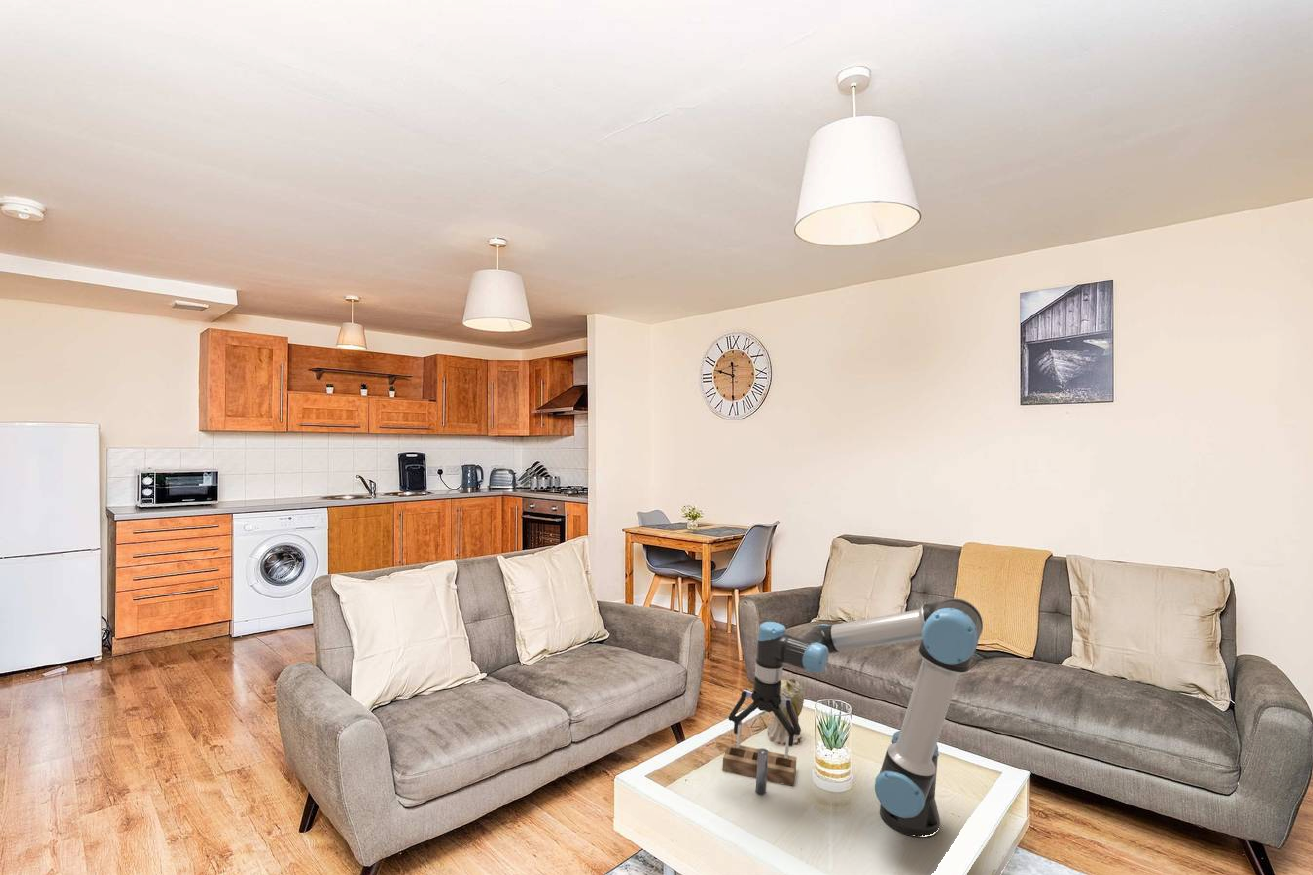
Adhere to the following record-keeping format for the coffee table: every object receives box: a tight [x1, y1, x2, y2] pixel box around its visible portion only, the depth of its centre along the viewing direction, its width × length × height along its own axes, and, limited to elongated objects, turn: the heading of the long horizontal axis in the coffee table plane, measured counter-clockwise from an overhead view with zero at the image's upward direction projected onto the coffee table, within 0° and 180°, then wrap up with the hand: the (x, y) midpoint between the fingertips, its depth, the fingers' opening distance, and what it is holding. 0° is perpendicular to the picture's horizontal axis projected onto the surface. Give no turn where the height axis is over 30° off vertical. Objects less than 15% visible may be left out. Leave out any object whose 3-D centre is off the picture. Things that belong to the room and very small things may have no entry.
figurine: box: [767, 678, 805, 747], centre depth 215 cm, size 12×12×20 cm
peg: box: [755, 748, 769, 796], centre depth 184 cm, size 3×3×12 cm
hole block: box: [721, 742, 797, 787], centre depth 195 cm, size 21×9×4 cm, turn 73°
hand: (762, 750), depth 184 cm, fingers open, 13 cm apart
